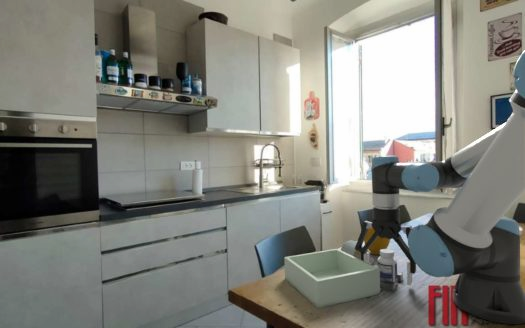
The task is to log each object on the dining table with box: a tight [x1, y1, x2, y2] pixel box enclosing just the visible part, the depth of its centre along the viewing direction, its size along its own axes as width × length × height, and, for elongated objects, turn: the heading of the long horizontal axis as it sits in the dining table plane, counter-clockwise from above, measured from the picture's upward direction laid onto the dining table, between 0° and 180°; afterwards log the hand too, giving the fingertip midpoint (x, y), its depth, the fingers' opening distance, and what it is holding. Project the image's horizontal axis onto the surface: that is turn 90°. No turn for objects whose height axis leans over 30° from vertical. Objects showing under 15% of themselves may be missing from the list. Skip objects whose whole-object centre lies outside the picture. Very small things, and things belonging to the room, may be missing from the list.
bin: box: [283, 248, 381, 310], centre depth 86 cm, size 20×20×7 cm
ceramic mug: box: [340, 239, 375, 264], centre depth 103 cm, size 11×8×8 cm
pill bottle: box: [377, 248, 398, 286], centre depth 87 cm, size 5×5×10 cm
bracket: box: [380, 271, 404, 293], centre depth 87 cm, size 11×6×3 cm, turn 140°
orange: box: [363, 226, 391, 256], centre depth 113 cm, size 10×10×12 cm
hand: (387, 278), depth 87 cm, fingers open, 12 cm apart
